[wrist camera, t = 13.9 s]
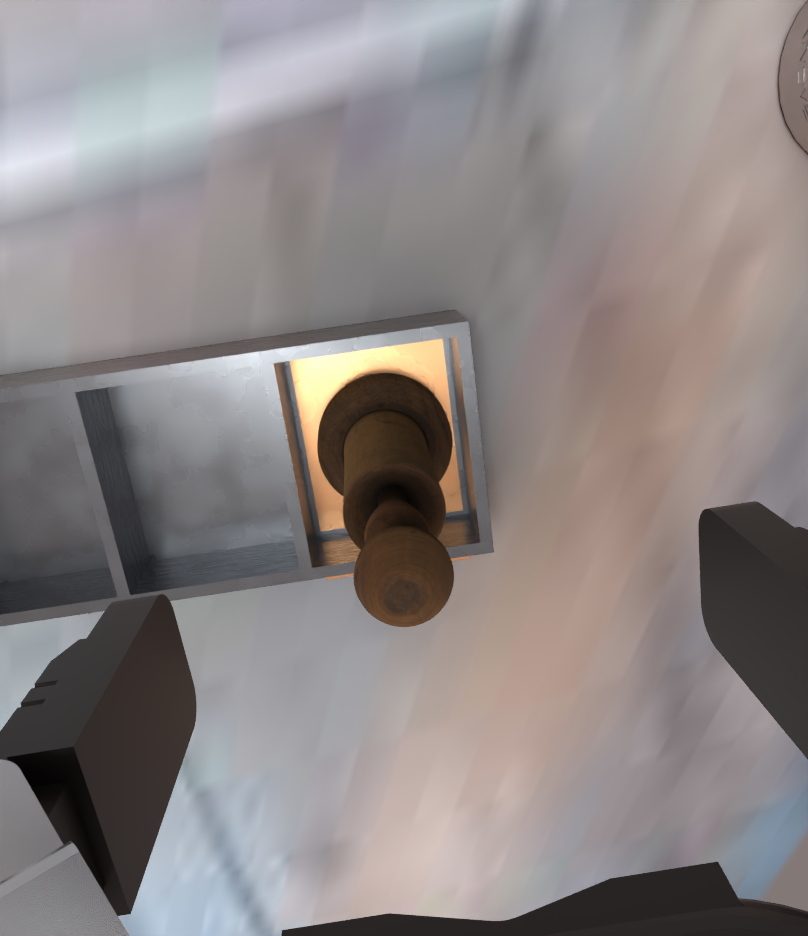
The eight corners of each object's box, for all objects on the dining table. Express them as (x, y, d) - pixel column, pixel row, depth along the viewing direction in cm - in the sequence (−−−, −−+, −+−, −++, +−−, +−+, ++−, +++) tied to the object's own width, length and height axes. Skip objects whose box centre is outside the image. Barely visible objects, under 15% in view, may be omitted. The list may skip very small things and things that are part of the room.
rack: (454, 309, 39) (468, 321, 34) (478, 522, 42) (494, 559, 37) (-82, 387, 38) (-144, 410, 33) (-12, 595, 42) (-60, 643, 37)
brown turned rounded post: (363, 518, 40) (370, 733, 23) (292, 418, 38) (243, 570, 21) (471, 452, 40) (560, 622, 22) (404, 346, 38) (445, 443, 21)
